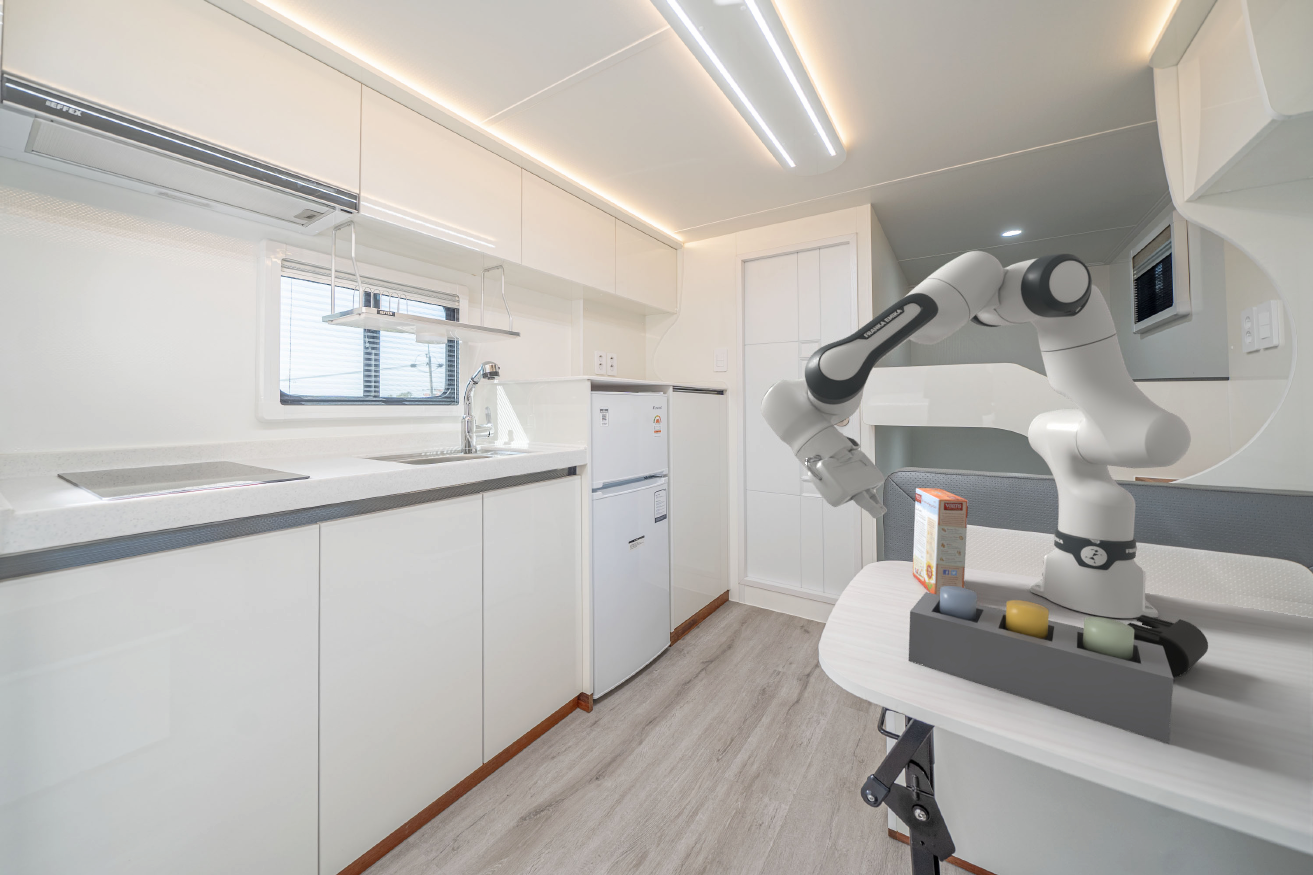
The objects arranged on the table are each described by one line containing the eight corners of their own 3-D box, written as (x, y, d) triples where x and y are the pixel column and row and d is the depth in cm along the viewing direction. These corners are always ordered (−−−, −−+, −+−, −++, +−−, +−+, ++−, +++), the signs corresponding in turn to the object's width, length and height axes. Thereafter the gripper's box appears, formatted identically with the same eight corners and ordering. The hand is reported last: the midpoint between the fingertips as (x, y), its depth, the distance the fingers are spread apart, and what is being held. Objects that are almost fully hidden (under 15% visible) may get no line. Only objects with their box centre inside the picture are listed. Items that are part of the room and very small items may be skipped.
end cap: (1187, 690, 67) (1190, 643, 67) (1119, 666, 73) (1121, 623, 73) (1207, 670, 72) (1210, 626, 72) (1142, 649, 78) (1144, 609, 78)
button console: (924, 637, 83) (925, 591, 82) (1158, 703, 64) (1162, 645, 63) (908, 660, 75) (910, 610, 75) (1168, 743, 57) (1173, 678, 56)
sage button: (1082, 637, 67) (1084, 613, 67) (1131, 649, 64) (1132, 623, 63) (1082, 651, 63) (1084, 625, 63) (1134, 664, 60) (1135, 637, 60)
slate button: (943, 604, 78) (943, 583, 78) (978, 612, 75) (979, 591, 75) (936, 614, 74) (937, 592, 74) (973, 623, 71) (973, 600, 71)
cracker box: (965, 601, 98) (969, 499, 96) (933, 598, 99) (936, 498, 97) (939, 576, 111) (943, 487, 110) (911, 575, 112) (914, 486, 111)
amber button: (1007, 619, 72) (1008, 597, 72) (1048, 629, 69) (1049, 606, 69) (1003, 631, 69) (1004, 607, 69) (1046, 642, 66) (1047, 617, 65)
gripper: (814, 446, 78) (876, 514, 72) (858, 439, 93) (912, 494, 87) (788, 471, 81) (845, 538, 75) (835, 460, 96) (885, 515, 90)
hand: (881, 515), depth 81 cm, fingers closed
